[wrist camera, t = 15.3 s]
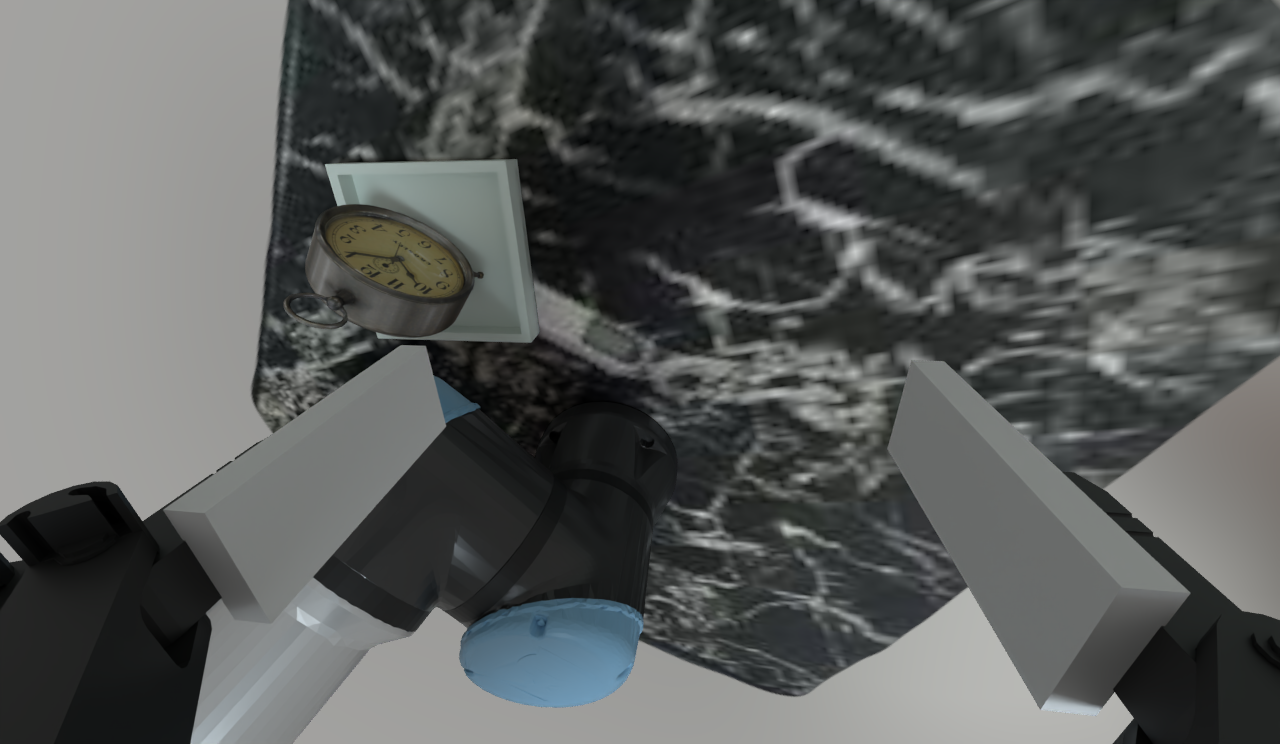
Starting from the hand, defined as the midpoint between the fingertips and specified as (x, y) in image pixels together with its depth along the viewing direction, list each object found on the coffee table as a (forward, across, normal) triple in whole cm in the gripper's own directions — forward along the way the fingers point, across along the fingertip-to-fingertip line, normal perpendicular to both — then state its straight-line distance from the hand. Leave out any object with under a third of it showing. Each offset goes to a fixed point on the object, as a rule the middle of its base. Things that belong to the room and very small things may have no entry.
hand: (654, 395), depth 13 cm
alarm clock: (+28, +22, +3) cm, 36 cm away
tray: (+29, +22, +2) cm, 36 cm away
